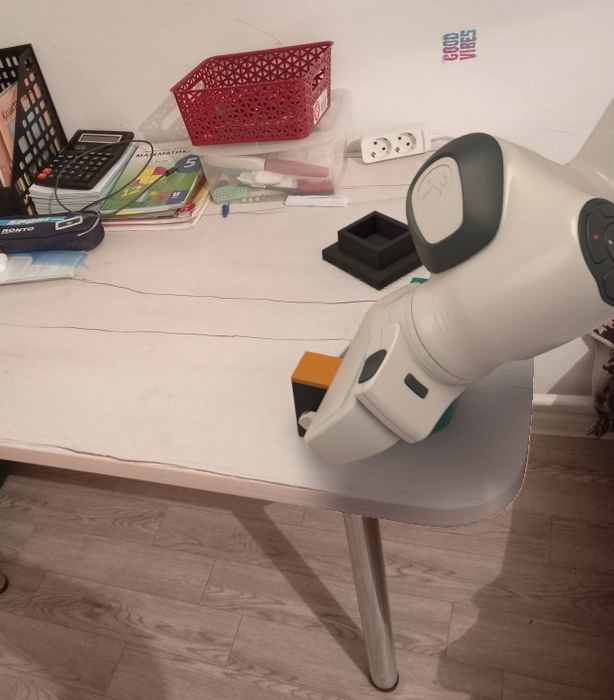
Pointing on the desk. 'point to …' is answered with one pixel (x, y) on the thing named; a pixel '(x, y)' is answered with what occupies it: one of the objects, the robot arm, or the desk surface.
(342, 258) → the square base socket
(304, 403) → the upright block
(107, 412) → the desk surface
